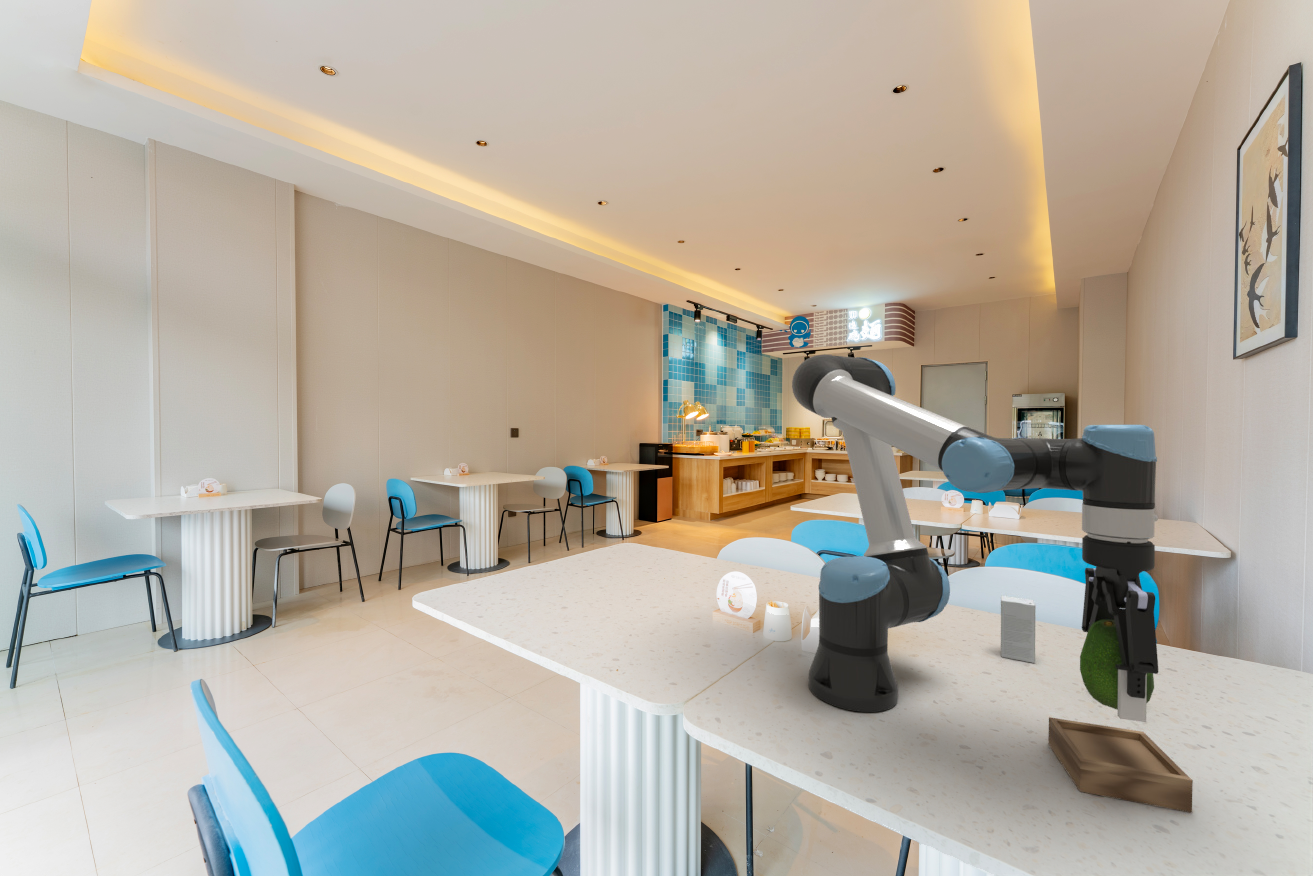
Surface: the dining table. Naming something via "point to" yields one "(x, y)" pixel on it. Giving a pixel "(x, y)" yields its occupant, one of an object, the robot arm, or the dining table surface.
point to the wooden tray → (1119, 764)
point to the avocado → (1104, 664)
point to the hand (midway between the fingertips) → (1115, 703)
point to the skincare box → (1018, 629)
